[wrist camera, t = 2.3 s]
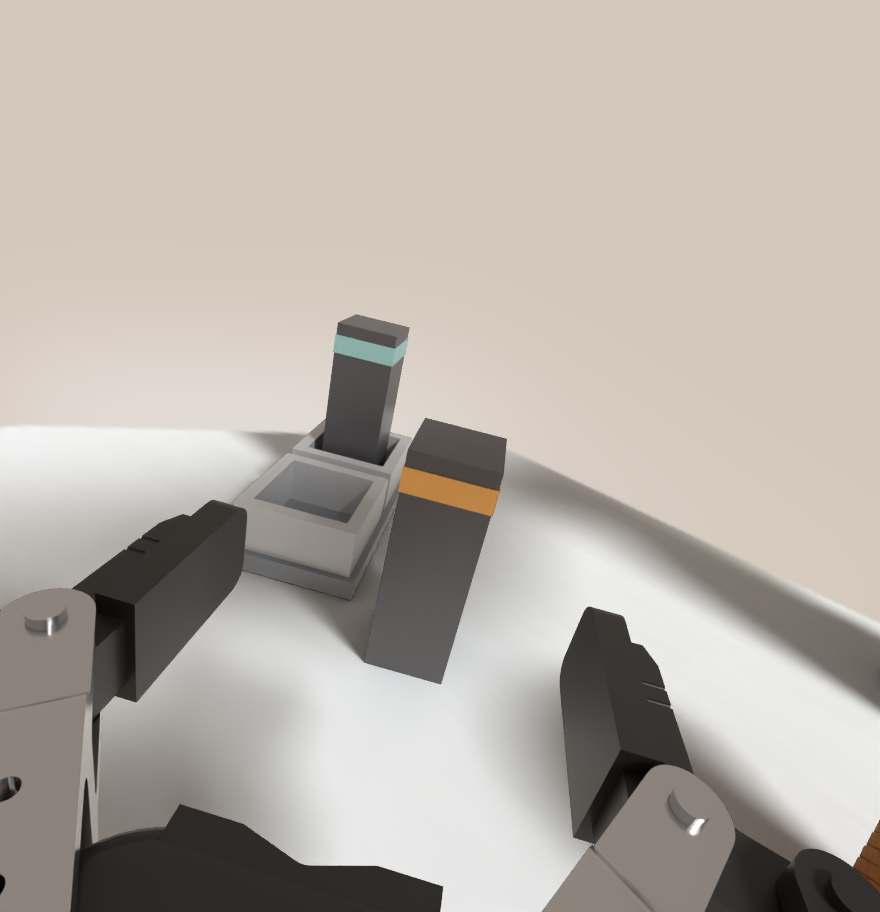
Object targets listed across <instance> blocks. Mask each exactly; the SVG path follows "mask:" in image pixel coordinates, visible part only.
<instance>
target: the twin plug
mask: <svg viewBox="0 0 880 912" xmlns="http://www.w3.org/2000/svg"><path fill="white" fill-rule="evenodd" d="M408 332H409V327H405V326H401V325H397V324H393V323H389V322H385V321H380V320H376V319H373V318H368V317H364V316H360V315H354V316H352V317H350V318H347V319H345V320H343V321H340V322H338V327H337V334H336V335H335V343H334V351H333V352H334V359H333V366H332V374H331V382H330V390H329V398H328V406H327V414H326V421H325V429H324V437H323V445H322V451H325V452H329V453H333V454H337V455H340V456H344V457H348V458H352V459H356V460H359V461H363V462H367V463H371V464H375V465H378V466H382V467H383V466H384V462H385V457H386V451H387V446H388V440H389V435H390V430H391V424H392V419H393V413H394V408H395V402H396V397H397V392H398V386H399V381H400V375H401V369H402V365H403V359H404V355H405V353H406V348H407V341H408Z"/></svg>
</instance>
